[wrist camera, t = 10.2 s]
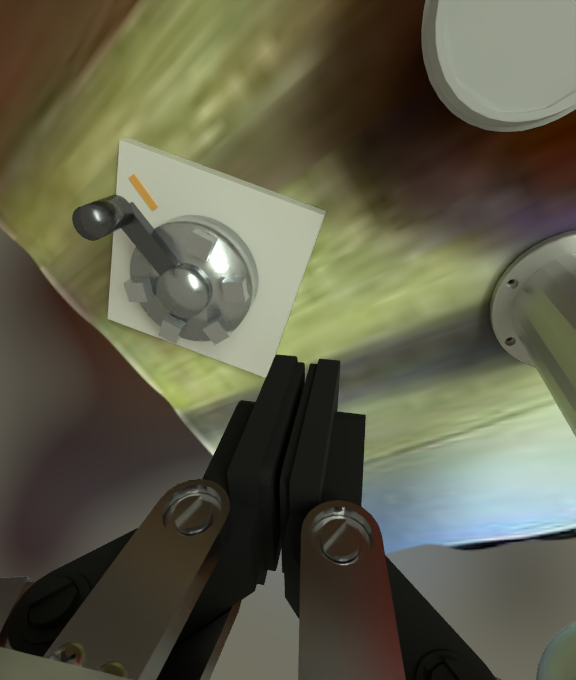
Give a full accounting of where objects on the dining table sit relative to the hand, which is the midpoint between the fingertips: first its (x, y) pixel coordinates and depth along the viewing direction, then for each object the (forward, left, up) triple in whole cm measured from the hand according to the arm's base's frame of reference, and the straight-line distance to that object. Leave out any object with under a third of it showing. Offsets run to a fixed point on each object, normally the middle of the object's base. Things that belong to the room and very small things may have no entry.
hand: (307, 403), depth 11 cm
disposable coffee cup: (-4, -12, -27) cm, 30 cm away
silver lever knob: (+12, +10, -25) cm, 30 cm away
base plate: (+11, +11, -27) cm, 31 cm away
